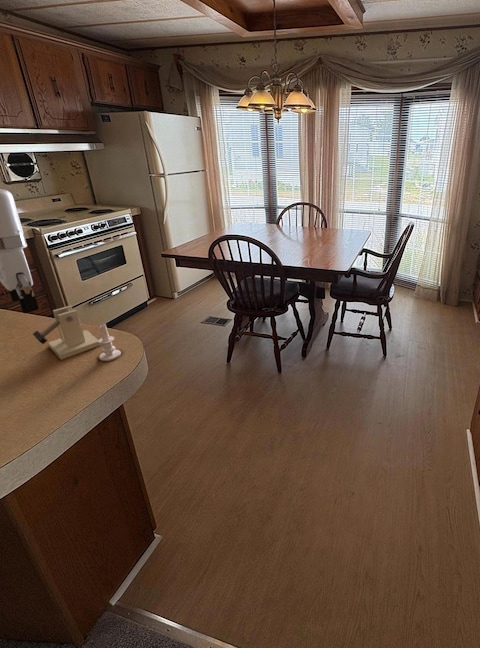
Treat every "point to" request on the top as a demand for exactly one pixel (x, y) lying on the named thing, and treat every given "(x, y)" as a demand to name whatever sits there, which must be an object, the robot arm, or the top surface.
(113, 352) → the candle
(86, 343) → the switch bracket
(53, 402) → the top surface
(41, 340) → the switch lever
